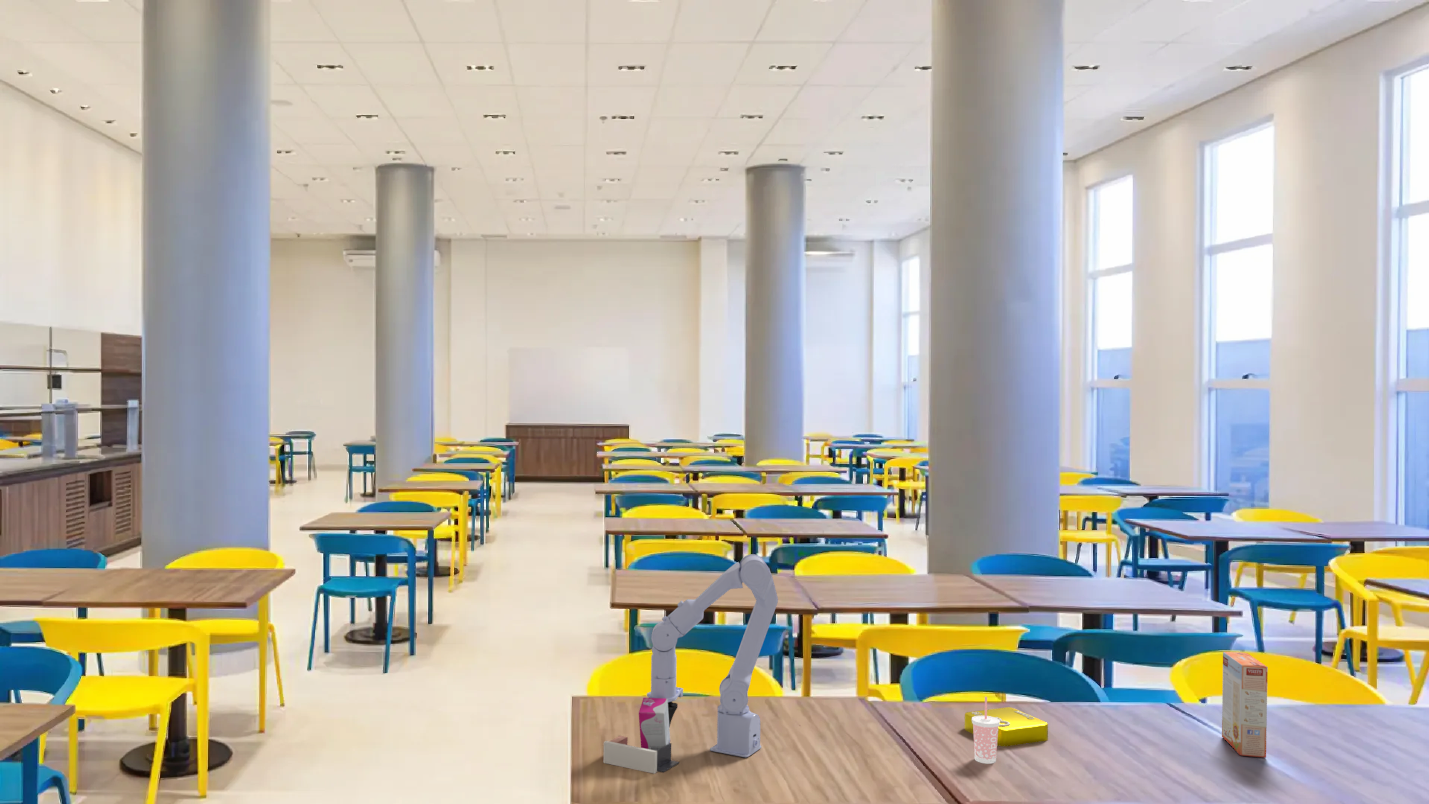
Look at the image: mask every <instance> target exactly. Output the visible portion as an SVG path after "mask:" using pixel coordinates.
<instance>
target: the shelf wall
mask: <svg viewBox="0 0 1429 804" xmlns="http://www.w3.org/2000/svg"><path fill="white" fill-rule="evenodd" d="M610 741H611V740H605V741H603V764H607V765H612V766H617V767H621V768H627V769H631V770H636V771H640V772H645V773H649V774H656V773H657V772H658V771H657V751H655V750H650V749H645V748H641V746H640V747H639V746H633V745H629V744H627V745H625V744H620V743H615V742H610Z"/></svg>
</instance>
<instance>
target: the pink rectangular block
mask: <svg viewBox="0 0 1429 804" xmlns="http://www.w3.org/2000/svg"><path fill="white" fill-rule="evenodd" d="M628 739H629V738H628V736H624V735H618V736H616V737H615V738H612V739H611V740H609V741H610V742H615V743H620V744H625V745H628Z"/></svg>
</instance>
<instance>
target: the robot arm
mask: <svg viewBox="0 0 1429 804" xmlns="http://www.w3.org/2000/svg"><path fill="white" fill-rule="evenodd" d="M773 578H774V577H773V575H772V573H771V570H770V567H769V566H768V565H767V563H766V561H765V560H764V558H762V556H760V555H758V554H754V553H752V554H751V553H750V554H747V555H745V556H743V558H742V559H741V560H740V562H739V561H738V562H736V563H734V564H732V565H731V566H730V567H729V568H728V569H726V570H725V571H724V572H723V573H722V574H721V575H720V576H718V578H717V579H715V580H714V582H712V583H711V584H710V585H709V586H708V587H706V589H704V591H703V592H702V593H700V595H698V596H697V597H696V598H695V599H691V598H690V599H685V601H683V600H680V601H679V602H678V603H677V607H676V608H675V609H674V610H673V611H672V612H671V613H670V614H668V615H667V616H666V615H664V616H663V617H662V618H661V619H662V621H659V622H657V623H656V624H655V625H654V627H653V629H652V632H651V636H650V637H651V639H650V640H651V643H652V647H651V651H652V654H651V657H650V658H651V662H650V663H651V667H650V668H651V671H650V673H651V674H650V678H651V679H650V691H649V692H647V693H646V698H667V699H668V714H669V729H670V728H671V723H672V721H673V717H674V715H675V712H676V711H677V709H678V703H677V702H675V701H676V700H677V699H678V697H679V698H682V697H683V696H684V688H682V687H677V654H676V645H677V643H678V639H679V638H682V637H684V636H686V634H688V633H689V632H690V631H691V630H692V629H693V628H694V627H695V626H697V625H698V624H699V623H700V622H701V621H702V620H703V619H704V614H705V613H704V612H705V610H707V608H709V607H710V606H711V605H713V604H714V603H715V602H716V601H718V600H719V599H720V598H721V597H722V596H724V595H725V594H726V593H727V592H729V590H734V589H744V586H743V584H744V585H745V586H747V589H749V590H750V591H751V592H752V593H751V594H752V595H753V596H754V598H755V602H754V605H753V608H752V611H751V614H750V617H749V619H748V622H747V626H746V628H745V631H744V634H743V637H742V639H741V642H740V645H739V648H738V651H737V653H736V656H735V659H734V661H733V663H732V665H731V667H730V669H729V671H728V673H727V676H725V678H723V679H722V680H721V682H720V685H719V694H720V696H719V697H720V698H719V703H720V704H719V705H718V706H717V719H716V720H717V721H716V722H717V724H716V725H717V729H716V730H717V734H716V735H717V736H716V738H717V740H716V744H715V745H712V747H710V748H709V751H711V752H716V753H720V754H725V755H731V756H736V757H740V758H741V757H742V758H749V757H750V756H751V755H753V754H754V753H757V751H759V750H760V749H761V748H762V745H761V718H760V716H759V714H757V713H754V712H753V711H751V710H750V706H749V705H748V703H749V696H748V692H749V688H750V685H751V680H752V676H753V675H752V674H753V671H754V669H755V666H756V664H757V661H758V657H759V656H760V653H761V649H762V647H763V644H764V641H765V639H766V635H767V633H768V630H769V627H770V626H771V623H772V619H773V616H774V614H775V610H776V608H777V606H778V602H779V597H778V593H777V590H776V585H775V581H774V579H773ZM645 702H646V701H645ZM645 702H643V704H644V705H648V706H651V705H652V704H653V703H655V702H653V703H650V702H647V703H645Z"/></svg>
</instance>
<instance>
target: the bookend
mask: <svg viewBox="0 0 1429 804" xmlns="http://www.w3.org/2000/svg"><path fill="white" fill-rule="evenodd" d="M679 764H680V762H679V761H677V760H672V742H670V743H669V744H667V745H665V746H664V747H662V748H660V749H658V750H657V772H659V773H666V772H667V771H669V770H670V769H672V768H674V767H675V766H677V765H679Z"/></svg>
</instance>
